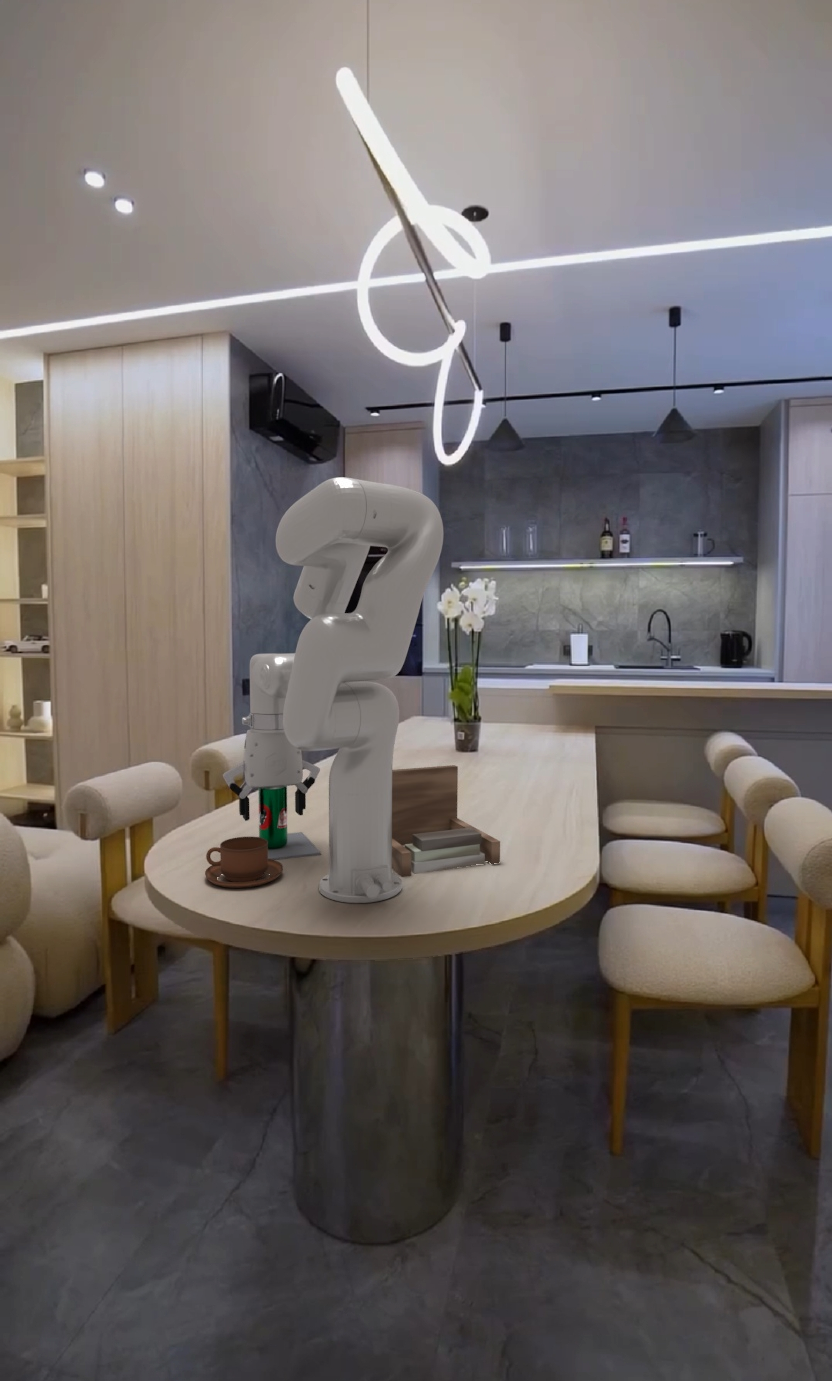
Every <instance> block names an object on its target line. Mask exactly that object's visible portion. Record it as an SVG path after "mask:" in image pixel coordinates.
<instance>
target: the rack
mask: <svg viewBox="0 0 832 1381" xmlns="http://www.w3.org/2000/svg"><path fill="white" fill-rule="evenodd" d="M458 769H459V766H457V765H456V764H452V765H450V764H449V765H438V766H427V767H426V766H424V767H414V768H412V767H411V768H399V769H392V871H394V872H396V873H397V874H398V876H400V877H403V878H404V877H411V876H412V873H413V874H420V873H429V872H435V871H436V872H437V871H444V870H445V871H446V870H453V868H454V869H458V868H457V867H462V868H467V867H466V866H470V867H472V866H471V865H476V864H486V863H485V861H488V862H490V863H491V864H494V863H499V862H500V863H501V840H499V839H496V838H495V837H494V836H491V835H489V834H488V833H486V832H484V831H482V830H480V829H478V828H476V827H474V826H473V825H471V824H469V823H468V822H465V821H463V820H461V819H460V818H459V817H458V788H459V786H458V783H459V782H458V781H459V780H458V779H459V778H458V776H459V770H458Z"/></svg>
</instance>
